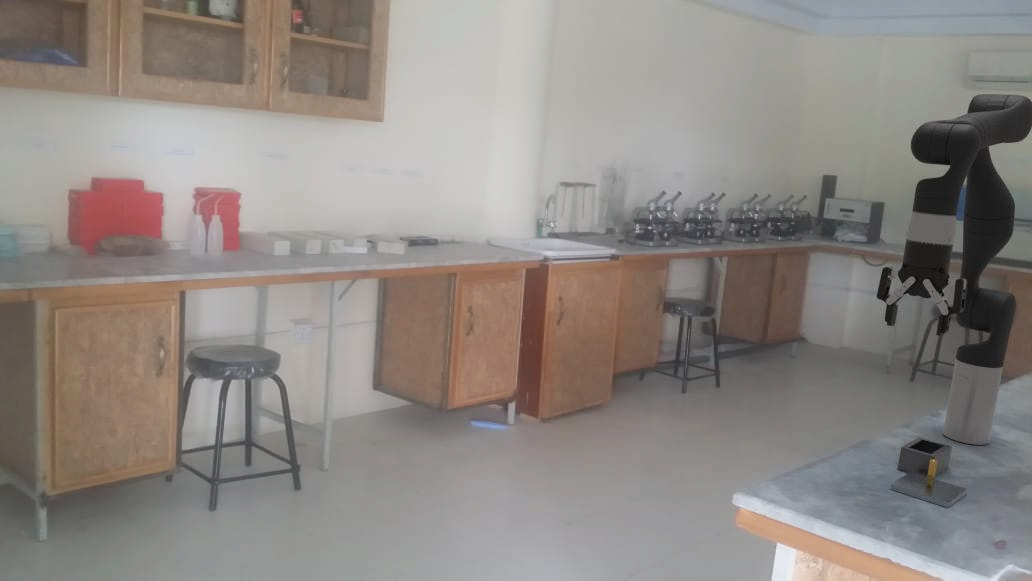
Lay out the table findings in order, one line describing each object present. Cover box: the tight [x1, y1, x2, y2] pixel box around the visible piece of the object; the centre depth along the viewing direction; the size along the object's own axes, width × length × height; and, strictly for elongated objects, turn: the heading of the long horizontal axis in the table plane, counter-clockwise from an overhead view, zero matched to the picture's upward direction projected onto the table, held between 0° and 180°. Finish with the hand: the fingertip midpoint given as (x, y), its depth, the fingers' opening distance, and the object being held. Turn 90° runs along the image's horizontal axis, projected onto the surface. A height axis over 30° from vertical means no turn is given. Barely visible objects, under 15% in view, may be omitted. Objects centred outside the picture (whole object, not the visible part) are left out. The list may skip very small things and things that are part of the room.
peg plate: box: [889, 459, 968, 509], centre depth 161 cm, size 10×10×6 cm
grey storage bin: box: [897, 436, 953, 477], centre depth 173 cm, size 10×6×4 cm, turn 137°
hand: (914, 330), depth 158 cm, fingers open, 8 cm apart
